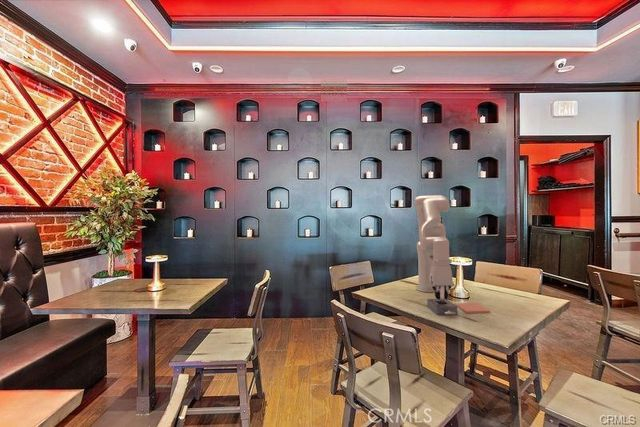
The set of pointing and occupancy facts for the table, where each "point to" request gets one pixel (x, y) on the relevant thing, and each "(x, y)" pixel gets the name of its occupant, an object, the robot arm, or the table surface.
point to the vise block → (442, 307)
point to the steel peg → (442, 295)
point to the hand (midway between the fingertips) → (441, 298)
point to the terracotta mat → (472, 308)
